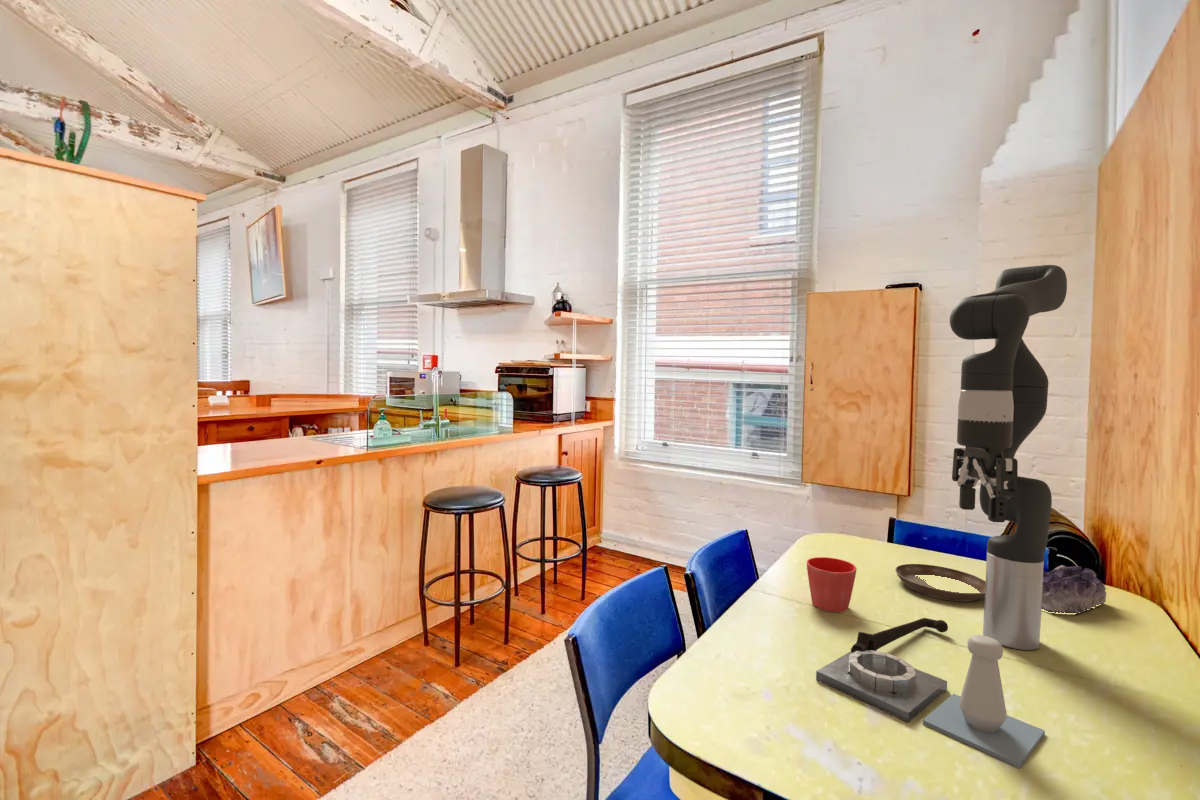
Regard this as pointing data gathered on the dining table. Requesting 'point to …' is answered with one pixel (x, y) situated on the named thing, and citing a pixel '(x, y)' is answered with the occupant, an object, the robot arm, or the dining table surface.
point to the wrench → (894, 634)
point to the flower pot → (831, 583)
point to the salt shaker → (983, 686)
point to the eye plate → (883, 682)
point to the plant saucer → (919, 585)
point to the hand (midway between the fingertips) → (981, 515)
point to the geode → (1071, 590)
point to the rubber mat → (1003, 744)
